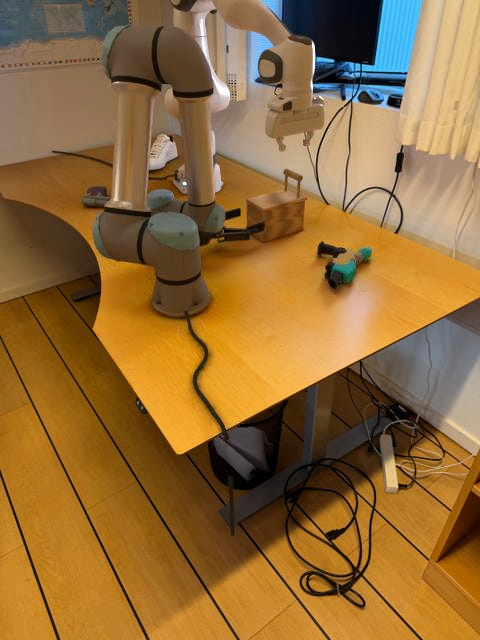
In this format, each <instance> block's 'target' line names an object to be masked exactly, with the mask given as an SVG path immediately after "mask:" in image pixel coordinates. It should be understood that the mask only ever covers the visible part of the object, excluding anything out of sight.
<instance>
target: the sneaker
mask: <svg viewBox="0 0 480 640" xmlns="http://www.w3.org/2000/svg"><path fill="white" fill-rule="evenodd" d="M178 156H179V155H178V149H177V144H176V140H175V136H174V135H173V134H164V133H161V134H158V135H157V137H156V139H155V140H154V142H153V143H152V145H151V148H150V161H149V171H156V170H160V169H162V168H164V167H165V166H166V164H167V163H168V162H170V161H172V160H175V159H176V158H177V157H178Z"/></svg>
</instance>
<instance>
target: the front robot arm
mask: <svg viewBox="0 0 480 640" xmlns="http://www.w3.org/2000/svg"><path fill="white" fill-rule="evenodd" d="M101 64H102V65H103V71H104V74H105V76H106V77H107V78H108V79H109V80H110V87H111V88H112V90H113V91H114V92H115V94H116V106H115V107H116V109H115V123H114V124H115V125H114V141H113V142H114V143H113V157H112V164H113V166H112V172H111V173H112V174H111V175H112V176H111V193H110V197H111V199H110V200H109V201H108V202H107V203H106V204H105V205H104V207H103V211H102V212H100V213H98V214H97V215H96V216H95V220H93V223H92V227H91V229H92V230H91V235H92V241H93V244H94V247H95V249H96V251H98V253H99V254H100V255H101V256H102V257H103V258H105V259H108V260H114V261H115V262H119V263H121V262H123V263H131V264H134V265H135V264H136V265H142V266H147V267H153V268H154V274H155V275H154V276H155V281H154V284H153V290H152V294H151V305H152V308H153V310H154V311H155V312H156V313H157V314H159V315H160V316H163V317H167V318H171V319H183V318H185V319H186V323H187V328H188V332H189V333H190V335H191V336H192V338H193V339H194V340H195V341H196V342H197V343H198V344H199V345H200V346H201V347H202V349H203V351H204V355H203V358H202V360H201V361H200V363H199V365H198V366H197V367H196V369H195V370H194V372H193V375H192V385H193V388H194V391H195V393H196V394H197V396H198V397H199V399H201V401H202V402H203V403H204V405H205V406H206V408H207V410H208V411H209V413H210V414H211V416H212V417H213V418H214V420H215V421H216V422H217V424H218V426H219V428H220V430H221V433H222V436H223V439H224V441H225V442H228V441H230V437H229V433H228V429H227V427H226V425H225V423H224V421H223V420H222V418H221V417H220V415H219V414H218V412H216V410H215V409H214V408H213V406H212V404H211V403H210V401H209V400H208V399H207V397H206V396H205V394H204V393H203V392H202V391H201V389H200V387H199V385H198V376H199V373H200V372H201V370H202V368H203V367H204V366H205V365H206V363H207V361H208V359H209V349H208V346H207V345H206V343H205V342H204V341H203V340H202V339H201V338H200V337H199V336H198V335H197V334H196V333H195V331H194V328H193V326H192V321H191V317H194V316H196V315H199V314H201V313H202V312H204V311H205V310H207V308H208V307H209V306H210V303H211V294H210V293H211V292H210V290H209V288H208V286H207V284H206V281H205V278H204V277H203V275H202V262H201V261H202V259H201V247H204V246H207V245H209V244H210V242H211V241H212V240H215V239H217V243H218V244H221V243H226V242H227V243H228V242H241V241H242V242H245V241H250V240H251V236H253V235H252V234H255V233H259V232H262V231H264V227H265V223H264V222H261V223H258V224H255V225H251V226H248V227H247V226H245V228H242V227H241V228H240V227H227V226H226V225H225V222H226V221H228V220H229V221H230V220H233V219H236V218H240V217H242V209H241V207H237V208H233V209H230V210H227V211H225V207H224V206H223V205H220V204H217V203H216V193H215V185H214V167H213V149H212V131H211V129H212V116H211V113H210V99H211V97H212V96H213V95H214V89H213V79H212V73H211V70H210V66H209V63H208V61H207V59H206V56H205V54H204V53H203V51H202V49H201V47H200V46H199V44H198V43H197V42H196V41H195V39H194V38H193V37H192V36H191V35H190V34H189V33H187V32H186V31H184V30H183V29H181V28H178V27H175V26H174V25H165V26H164V25H163V26H161V25H134V24H127V25H117V26H115V27H113V28H112V29H111V30H109V31H108V32H107V34H106V36H105V37H104V40H103V43H102V48H101ZM163 85H170V86H171V88H172V91H173V97H174V98H175V99H176V100H177V101H178V107H179V117H180V123H179V126H180V127H179V128H180V136H181V146H182V147H181V148H182V155H183V157H182V158H183V164H184V167H185V177H186V187H187V194H186V197H187V200H181V199H175V196H174V193H173V192H172V191H171V190H169V189H167V188H166V189H165V188H159V189H153V190H151V191H150V192H149V193H148V187H149V185H148V184H149V179H148V177H149V172H150V170H149V161H150V149H151V148H152V134H153V121H154V109H155V108H154V107H155V102H156V100H158V98H159V97H161V96H162V88H163ZM233 479H234V478H233V475H227V482H228V485H227V486H228V501H229V503H228V505H229V527H230V536H231V537H234V536H235V535H236V531H235V529H236V528H235V499H234V498H235V497H234V496H235V495H234V480H233Z"/></svg>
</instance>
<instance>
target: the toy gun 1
mask: <svg viewBox="0 0 480 640" xmlns="http://www.w3.org/2000/svg"><path fill="white" fill-rule="evenodd" d="M107 193H108V188H107V186H106V185H93V186H91V187H88V188H87V190H86V195H85V194H84V195H83V196H82V199H81V201H80V204H82V206H87V207H99V208H104V205H105V204H106V203H107V202H108V201H109V200H110V199H111V196H109V197H108V196H107Z"/></svg>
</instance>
